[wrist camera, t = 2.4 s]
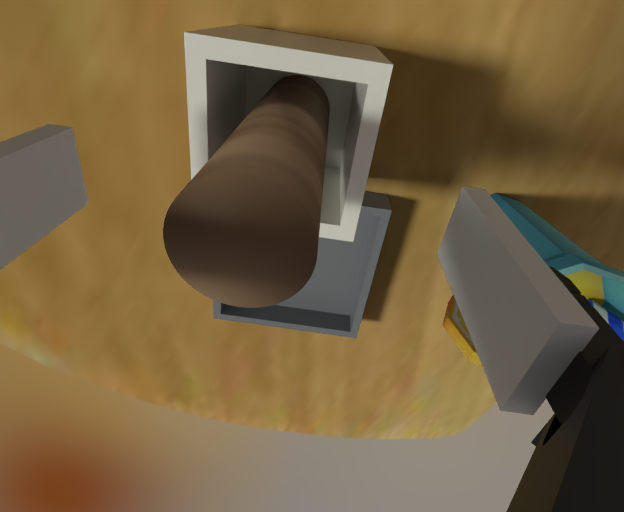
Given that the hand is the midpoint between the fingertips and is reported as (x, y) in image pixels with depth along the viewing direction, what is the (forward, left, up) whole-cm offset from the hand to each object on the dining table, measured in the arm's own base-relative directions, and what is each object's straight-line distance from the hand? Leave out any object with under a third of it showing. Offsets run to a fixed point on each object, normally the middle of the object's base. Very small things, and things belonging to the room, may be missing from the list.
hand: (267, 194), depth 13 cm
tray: (+11, +1, -13) cm, 17 cm away
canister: (0, 0, -13) cm, 13 cm away
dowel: (0, 0, -12) cm, 12 cm away
